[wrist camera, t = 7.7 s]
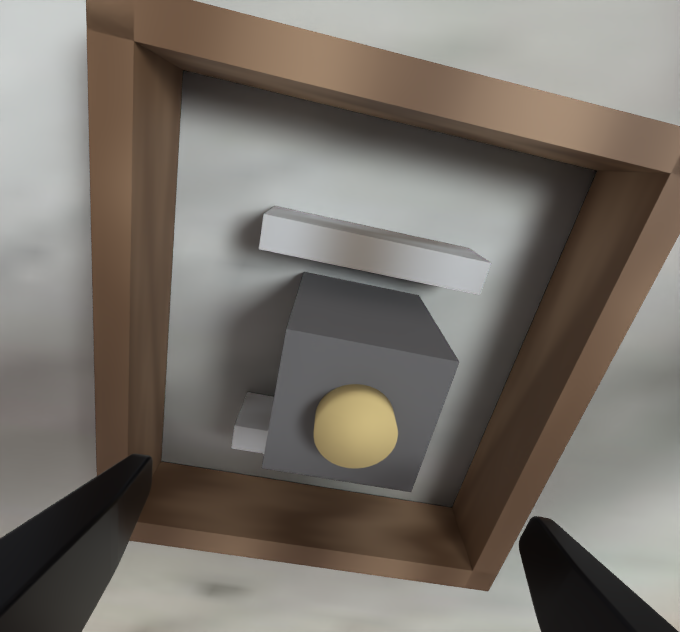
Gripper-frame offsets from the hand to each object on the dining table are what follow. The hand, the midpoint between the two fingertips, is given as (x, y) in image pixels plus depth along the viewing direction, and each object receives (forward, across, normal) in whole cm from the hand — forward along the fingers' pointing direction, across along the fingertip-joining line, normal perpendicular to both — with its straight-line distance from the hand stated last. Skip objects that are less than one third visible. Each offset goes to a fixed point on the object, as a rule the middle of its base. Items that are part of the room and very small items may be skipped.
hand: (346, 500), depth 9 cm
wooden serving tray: (+9, 0, 0) cm, 9 cm away
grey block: (+9, 0, 0) cm, 9 cm away
